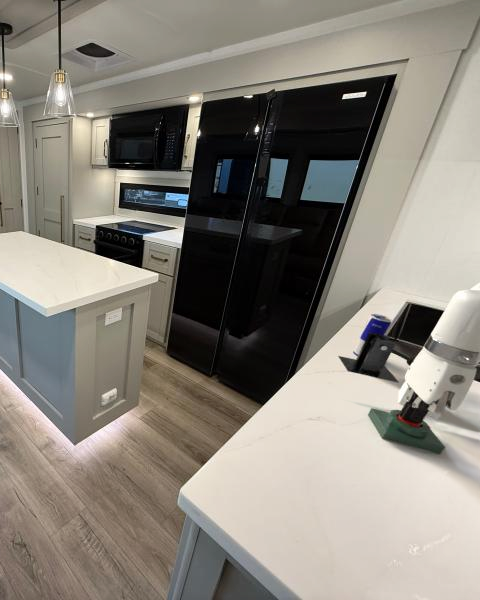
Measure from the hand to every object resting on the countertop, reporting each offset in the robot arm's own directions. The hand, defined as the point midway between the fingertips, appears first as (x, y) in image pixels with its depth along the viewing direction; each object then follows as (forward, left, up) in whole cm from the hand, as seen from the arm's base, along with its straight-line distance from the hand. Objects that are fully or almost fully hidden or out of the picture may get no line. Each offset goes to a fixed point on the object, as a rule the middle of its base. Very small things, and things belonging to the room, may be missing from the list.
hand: (409, 419), depth 69 cm
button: (0, 0, -2) cm, 2 cm away
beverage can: (-4, -36, -4) cm, 37 cm away
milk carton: (-8, -13, -4) cm, 16 cm away
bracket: (-2, -27, -4) cm, 28 cm away
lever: (-6, -27, +2) cm, 28 cm away
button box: (0, 0, -4) cm, 4 cm away
